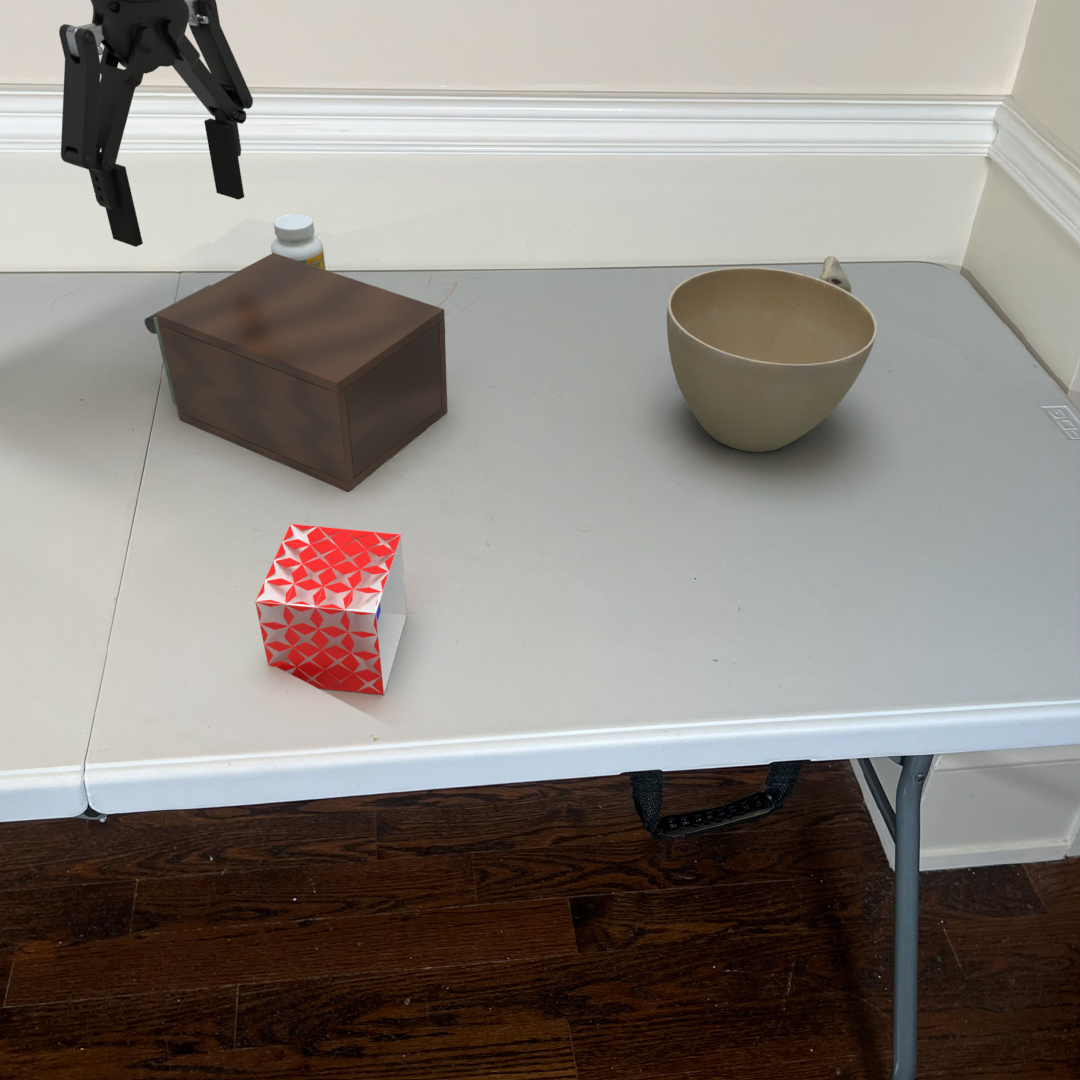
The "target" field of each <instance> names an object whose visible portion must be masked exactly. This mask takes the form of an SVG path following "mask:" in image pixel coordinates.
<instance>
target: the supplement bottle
mask: <svg viewBox="0 0 1080 1080" xmlns="http://www.w3.org/2000/svg"><path fill="white" fill-rule="evenodd" d="M273 229H274V235H275V236H276V238H274V240H273V241H272V243H271V246H270V251H271V254H272V253H275V254H278V255H281V256H284V257H287V258H290V259H293V260H296V261H300V262H303V263H306V264H309V265H312V266H315V267H318V268H321V269H324V270H326V261H325V254H324V253H325V252H324V246H323V242H322V240H321V239H320V238H319V237H318V236H317V235H315V226H314V220H313V218H312V217H311V216H309V215H306V214H303V213H289V214H288V213H287V214H284V215H281V216H279V217H277V218H275V220H274V221H273Z"/></svg>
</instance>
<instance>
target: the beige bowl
mask: <svg viewBox="0 0 1080 1080" xmlns="http://www.w3.org/2000/svg"><path fill="white" fill-rule="evenodd" d="M666 307H667V309H666V333H667V334H666V335H667V344H668V351H669V356H670V362H671V366H672V369H673V373H674V377H675V380H676V383H677V385H678V389H679V391H680V392H681V395H682V397H683V398H684V401H685V403H686V404H687V406H688V408H689V409H690V411H691V412H692V414H693V416H694V417H695V418H696V420H697V421H698V423H699V424H700V425H701V427H702V428H703V429H704V431H705V432H707V434H708V435H709V436H711V437H712V438H713V439H714V440H715V441H717V442H719V443H720V444H722V445H724V446H727V447H728V448H732V449H736V450H739V451H743V452H752V453H763V452H772V451H776V450H779V449H781V448H783V447H785V446H788V445H790V444H791V443H793V442H794V441H796V440H798V439H799V438H801V437H803V436H804V435H805V434H807V433H808V432H810V431H811V430H813V429H814V428H816V426H818V425H819V424H820V423H821V422H822V421H824V419H826V418H827V417H828V415H830V414H831V413H832V412H833V410H834V409H836V407H837V406H838V405H839V404H840V403H841V402H842V400H843V399H844V398H845V397H846V395H847V394H848V392H849V391H850V389H851V388H852V387H853V386H854V384H855V382H856V381H857V379H858V377H859V375H860V373H861V372H862V370H863V368H864V367H865V364H866V362H867V361H868V358H869V356H870V355H871V351H872V350H873V347H874V344H875V341H876V338H877V335H878V323H877V320H876V317H875V315H874V314H873V312H872V311H871V309H870V308H869V307H868V306H867V305H866V304H865V303H864V302H863V301H862V300H861V299H860V298H858V297H857V296H855V295H854V294H852V292H851V293H849V292H847V291H845V290H844V289H842V288H840V287H838V286H836V285H833V284H831V283H829V282H826V281H824V280H821V279H819V278H818V277H815V276H811V275H808V274H804V273H800V272H796V271H791V270H784V269H779V268H771V267H770V268H769V267H760V266H759V267H758V266H735V267H723V268H717V269H711V270H707V271H704V272H700V273H697V274H694V275H692V276H690V277H688V278H686V279H684V280H683V281H681V282H680V283H678V284H677V285H676V286H675V287H674V289H673V290H672V291H671V292H670V294H669V295H668V300H667V306H666Z"/></svg>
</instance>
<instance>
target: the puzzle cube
mask: <svg viewBox="0 0 1080 1080" xmlns="http://www.w3.org/2000/svg"><path fill="white" fill-rule="evenodd" d="M403 552H404V551H403V539H402V534H401V533H392V532H382V531H370V530H361V529H351V528H350V529H349V528H339V527H338V528H337V527H326V526H316V525H306V524H297V523H290V524H289V526H288V528H287V529H286V533H285V535H284V536H283V539H282V542H281V543H280V545H279V547H278V550H277V553H276V554H275V557H274V558H273V561H272V564H271V565H270V568H269V570H268V572H267V573H266V577H265V579H264V581H263V583H262V586H261V587H260V590H259V592H258V595H257V596H256V599H255V601H254V602H255V607H256V612H257V617H258V622H259V626H260V632H261V638H262V642H263V648H264V652H265V658H266V662H267V666H268V667H269V666H271V667H276V668H278V669H280V670H282V671H283V672H286V673H288V674H289V675H292V676H293V677H295V678H296V679H299V680H301V681H303V682H304V683H306V684H308V685H311V686H312V687H314V688H316V689H321V690H331V691H342V692H351V693H361V694H369V695H370V694H371V695H380V696H381V695H382V696H384V695H385V694H386V689H387V685H388V682H389V679H390V675H391V672H392V669H393V666H394V662H395V658H396V655H397V652H398V648H399V645H400V640H401V638H402V634H403V630H404V628H405V623H406V620H407V616H408V609H407V597H406V596H407V595H406V594H407V593H406V582H405V581H406V579H405V568H404V567H405V566H404V555H403V554H404V553H403Z"/></svg>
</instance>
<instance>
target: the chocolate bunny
mask: <svg viewBox="0 0 1080 1080" xmlns="http://www.w3.org/2000/svg"><path fill="white" fill-rule="evenodd" d="M822 269H823V270H822V272H821V274H820V276H819V278H818V279H821V280H824V281H826V282H829V283H831V284H833V285H836V286H838V287H840V288H842V289H844V290H845V291H847V292H849V293H851V294H852V285H851V282H850V281H849V278H848V276H847V275H846V273H845V272H844V270H843V268H842V266H841V261H839V260H838V259H837V258H836V257H835V256H831V255H829V256H826V257H825V259H824V260H823V268H822Z"/></svg>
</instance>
